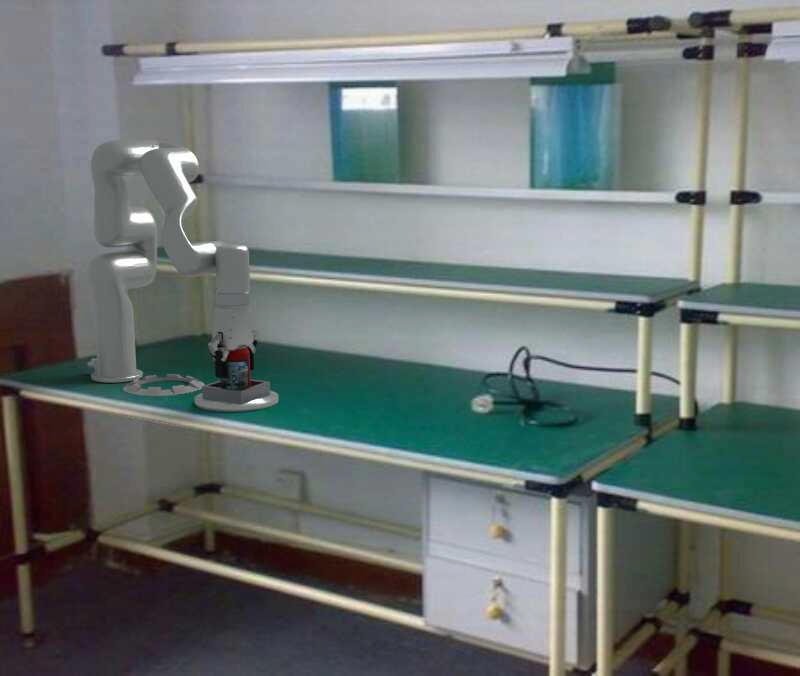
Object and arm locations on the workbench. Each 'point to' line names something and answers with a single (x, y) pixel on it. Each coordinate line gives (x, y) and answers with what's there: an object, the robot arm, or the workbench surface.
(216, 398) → the rosette plate
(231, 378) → the beverage can
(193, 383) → the ring
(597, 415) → the workbench surface
